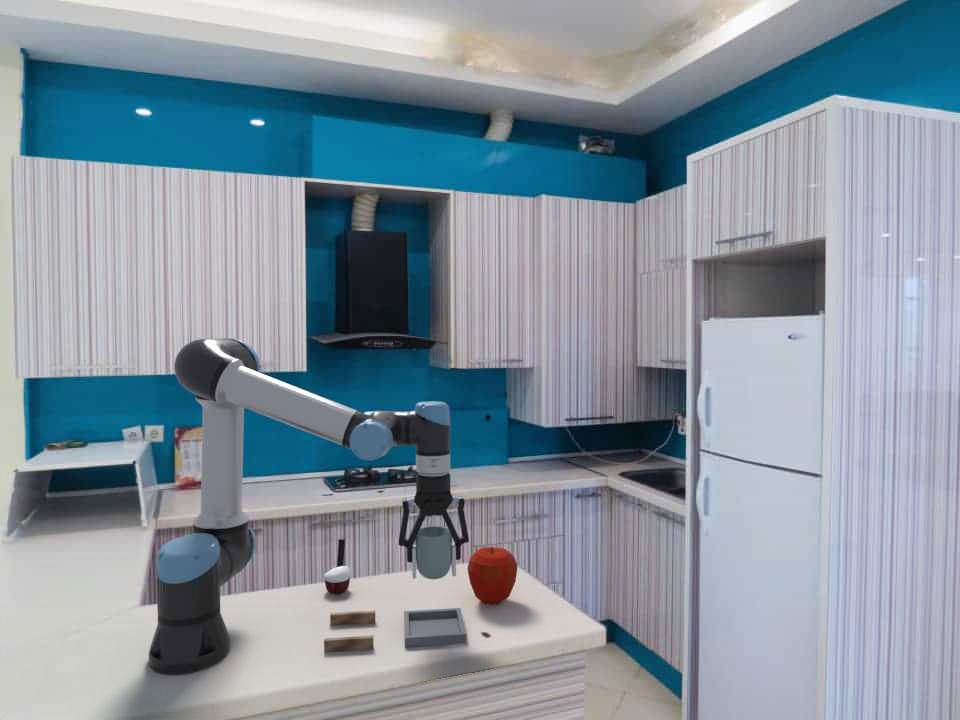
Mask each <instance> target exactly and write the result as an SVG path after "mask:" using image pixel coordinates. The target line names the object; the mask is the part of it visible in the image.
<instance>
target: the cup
mask: <svg viewBox="0 0 960 720" xmlns="http://www.w3.org/2000/svg"><path fill="white" fill-rule="evenodd" d="M452 543H453V538H452V536H451V532H450V531H449V529H448V527H447V526H439V525H429V526H424V527H421V528H420V530H419V532H418V534H417V537H416V539H415V545H416V569H417V570H418V573H419V574H420V576H422V577H423V578H425V579H428V580H439V579H441V578H444V577H445V576H447V574H448V573H449V572H450V571H451V559H452Z"/></svg>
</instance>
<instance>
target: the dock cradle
mask: <svg viewBox="0 0 960 720" xmlns="http://www.w3.org/2000/svg"><path fill="white" fill-rule="evenodd" d="M462 613H463V612H462V609H461V607H455V608H453V607H452V608H451V607H449V608H435V609H419V610H418V609H417V610H416V609H415V610H403V623H404V624H403V626H404V627H403V628H404V630H403V631H404V648H414V647H415V648H418V647H430V646H431V647H432V646H433V647H434V646H435V647H436V646H446V645H462V644H463V645H464V644H467V630H466V627H465V622H464V616H463V614H462Z"/></svg>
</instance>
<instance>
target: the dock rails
mask: <svg viewBox="0 0 960 720" xmlns="http://www.w3.org/2000/svg"><path fill="white" fill-rule="evenodd" d="M329 617H330V618H329V623H330V624H329V625H330V627H336V626H337V627H338V626H340V627H341V626H354V625H369V624H370V625H373V624H376V610H365V611H348V612H347V611H346V612H344V611H343V612H331V613H330V614H329ZM374 644H375V643H374V635H360V636H359V635H358V636H343V637H330V638H328V637H327V638H324V640H323V651H324V653H326V654H327V653H339V652H340V653H341V652H356V651H370V650H374V646H375V645H374Z"/></svg>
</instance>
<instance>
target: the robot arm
mask: <svg viewBox="0 0 960 720" xmlns="http://www.w3.org/2000/svg"><path fill="white" fill-rule="evenodd" d="M173 369H174V374H175V376H176V379H177V381H178V383H179V384H180V385H181V386H182V388H183V389H185V390H186V391H188V392H190V394H191V393H192V394H194V396H195V397H194V398H195V401H197V403H198V404H200V405H201V407H202V423H201V424H202V425H201V428H202V432H201V433H202V434H201V474H200V475H201V479H200V480H201V481H200V482H201V483H200V484H201V485H200V513H199V515H197V516H196V517H195V518H194V519H193V521H192V533H190V534H185V535H182V536H181V537H176V538H173V539H171V540H169V541H168V542H166V543H165V544H163V545H162V546H161V548H160V549H159V551H158V553H156V554H157V555H156V563H155V564H156V565H155V574H156V600H157V603H156V604H157V605H156V606H157V626H156V628H155V631H154V634H153V638H152V639H151V640H152V641H151V645H150V647H149V650H148V666H149V668H150V669H151V670H152V671H153V672H156V673H159V674H162V675H184V674H188V673H189V674H191V673H194V672H198V671H201V670H202V671H203V670H205V669H207V668H210V667H212V666H214V665H215V664H218V663H219V662H220V661H222V660H224V658H226V657H227V656H228V654H229V653H230V650H231V637H230V633H229V630H228V629H227V627H226V626H227V625H226V623H225V621H224V618H223V616H222V612H221V587H222V586H224V585H225V584H226V583H227V582H228V581H229V580H231V579H232V578H233V577H234V576H235V575H237V574H239V573H240V572H241V571H242V570H243V569H244V568H246V566H247V565H248V563H249V562H250V561H251V560H252V558H253V556H254V554H255V551H256V545H257V540H256V534H255V533H254V530H253V529H251V527H250V525H249V524H250V523H249V520H250V519H249V516H248V515H247V514H246V513H245V512H244V511H243V478H244V477H243V475H244V473H243V471H244V470H243V468H244V464H243V463H244V428H245V427H244V426H245V425H244V424H245V421H244V420H245V409H247V410H250V411H252V412H255V413H257V414H260V415H262V416H265V417H267V418H269V419H272V420H274V421H275V420H276V421H278V422H280V423H284V424H285V425H288V426H291V427H293V428H297V429H298V430H300V431H304V432H306V433H309V434H312V435H314V436H317V437H318V438H322V439H324V440H327V441H330V442H332V443H334V444H337V445H340V446H342V447H345V448H347V449H349V450H351V451H352V452H353V454H354V455H355V456H356V457H357V458H358V459H360V460H362V461H363V460H364V461H374V460H377V459H379V458H382V457H384V456H385V455H386V454H387V453H389V451H391V449H392V448H394V447H395V446H397V447H398V446H408V447H413V446H415V471H416V472H417V474H416V475H415V495H414V497H412V498H408V499H407V498H406V497H405V498H402V500H401V501H402V508H403V509H402V510H403V511H402V517H401V523H400V527H399V528H400V530H399V535H398V546H400V547H405V548H406V561H407V563H411V565H412V566H411V567H412V568H411V571H412V572H411V573H412V575H411V577H412V579H417V563H416V544H415V543H416V541H415V539H416V537H417V534H418V532H419V530H420V528H422V525H423V523H424V521H425V519H426V517H431V516H435V517H436V516H437V517H439V516H442V518H443V521H444V522H445V525H446V528H448V529H449V531H450V532H451V536H452V541H453V542H452V559H451V566H450V568H451V576H452V577H457V561H461V558H462V556H461V555H462V545H463V544H467V543H469V541H470V539H469V532H468V527H467V522H466V515H465V503H466V502H465V501H466V500H465V498H464V496H462V495H460V496H453V494H452V491H451V474H450V473H449V472H450V471H451V418H450V417H451V416H450V415H451V414H450V406H449V405H448V404H447V403H446V402H443V401H432V400H431V401H420V402H417V403H416V404H415V408H414V410H410V411H409V410H408V411H393V410H392V411H391V410H390V411H389V410H388V411H387V410H386V411H385V410H382V411H381V410H375V411H365V412H362V411H358V410H357V409H354V408H353V407H349V406H347V405H343V404H341V403H339V402H336V401H334V400H331V399H328V398H326V397H322V396H320V395H318V394H315V393H313V392H311V391H307V390H305V389H303V388H300V387H298V386H294V385H292V384H290V383H288V382H287V383H286V382H284V381H282V380H279V379H277V378H274V377H272V376H269V375H267V374H264V373H261V372H260V371H261V370H260V369H261V363H260V359H259V355H258V354H257V352H256V350H254V348H253V347H252V346H251V345H250V344H248V343H247V342H244V340H240V339H236V338H230V337H223V338H222V337H221V338H220V337H219V338H199V339H196V340H192V341H190V342H188V343H186V344H185V345H184V346H183V347H182V348H180V351H179V352H178V353H177V355H176V357H175V361H174V367H173ZM452 503H453V504H454V505H453V506H455V507H454V508H456V510H457V514H458V515H457V516H458V519H459V520H458V521H459V524H460V530H461V536H459V534H458V532H457V530H456V528H455V526H454V525H455V524H453V522H452V519H451V516H450V515H449V513H448V508H449V507H450V505H451V504H452ZM414 504H415V505H416V507H417V508H418V509H419V512H418V514H417V517H416V519H415V522H414V524H413V527H412V529H411V531H410V532H409V536H408V538H406V534H407V530H408V523H409V518H410V517H409V516H410V510H412V508H413V505H414Z"/></svg>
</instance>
